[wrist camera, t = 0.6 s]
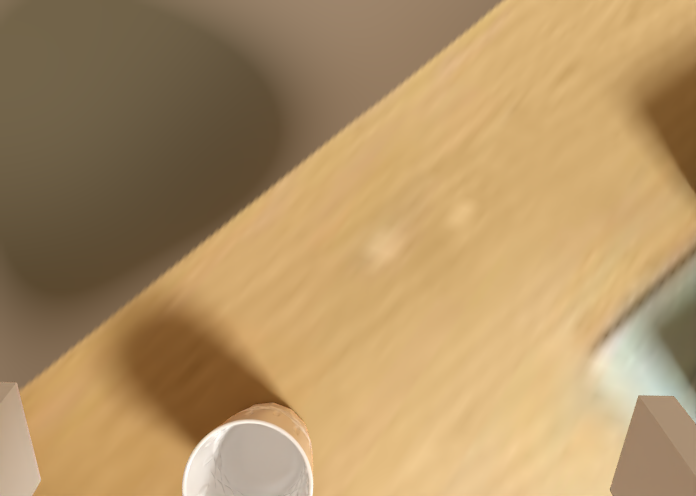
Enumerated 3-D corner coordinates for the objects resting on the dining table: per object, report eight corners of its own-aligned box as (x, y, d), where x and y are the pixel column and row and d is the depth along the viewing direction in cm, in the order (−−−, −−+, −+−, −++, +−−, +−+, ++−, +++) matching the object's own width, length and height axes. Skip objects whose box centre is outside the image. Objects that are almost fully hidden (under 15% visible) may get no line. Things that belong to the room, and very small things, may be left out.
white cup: (253, 374, 46) (229, 394, 36) (338, 430, 46) (338, 465, 36) (196, 462, 45) (155, 507, 35) (282, 519, 45) (265, 581, 35)
